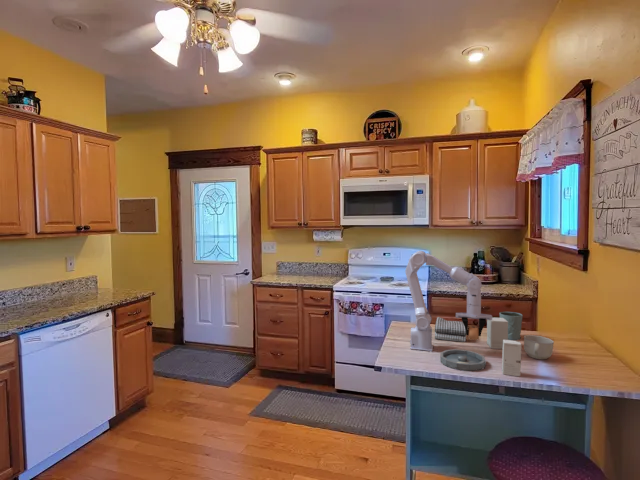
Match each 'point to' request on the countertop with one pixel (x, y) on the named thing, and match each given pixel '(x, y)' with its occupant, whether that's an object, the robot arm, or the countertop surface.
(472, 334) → the bead
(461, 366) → the groove tray
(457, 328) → the towel
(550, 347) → the teacup
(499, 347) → the supplement box
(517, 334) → the green plant pot
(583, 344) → the countertop surface
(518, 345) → the skincare box
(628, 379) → the countertop surface
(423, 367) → the countertop surface
